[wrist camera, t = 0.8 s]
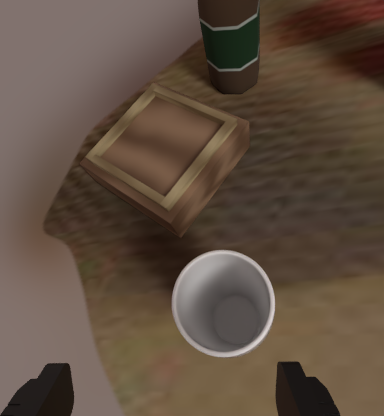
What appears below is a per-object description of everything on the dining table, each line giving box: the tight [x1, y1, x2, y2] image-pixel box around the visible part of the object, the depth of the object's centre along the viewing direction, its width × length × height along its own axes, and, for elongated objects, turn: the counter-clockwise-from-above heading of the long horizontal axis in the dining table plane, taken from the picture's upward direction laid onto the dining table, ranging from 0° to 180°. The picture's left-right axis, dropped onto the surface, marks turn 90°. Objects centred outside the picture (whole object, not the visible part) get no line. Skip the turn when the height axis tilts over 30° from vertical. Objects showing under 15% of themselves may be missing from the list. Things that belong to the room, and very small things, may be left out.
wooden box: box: [79, 82, 250, 238], centre depth 40 cm, size 16×16×6 cm
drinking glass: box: [172, 250, 275, 358], centre depth 26 cm, size 7×7×15 cm
